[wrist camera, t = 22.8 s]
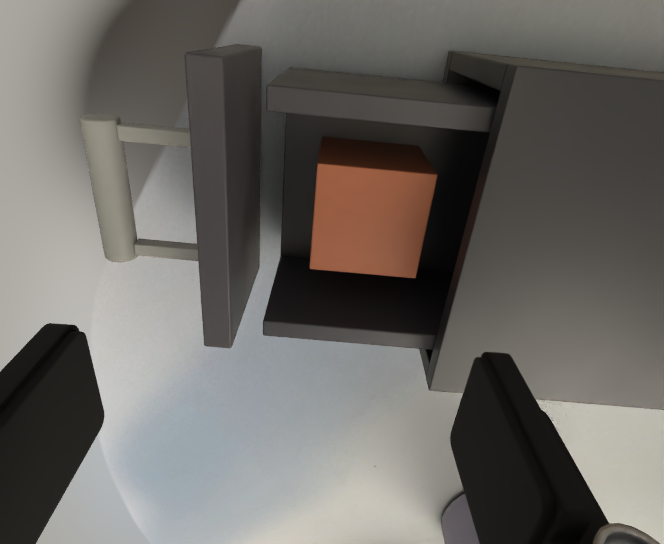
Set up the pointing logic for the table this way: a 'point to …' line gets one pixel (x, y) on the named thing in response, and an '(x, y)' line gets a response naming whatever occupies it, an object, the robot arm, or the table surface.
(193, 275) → the table surface
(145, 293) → the table surface
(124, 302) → the table surface
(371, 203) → the block
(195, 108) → the sliding drawer
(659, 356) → the dark grey drawer box
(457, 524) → the purple grey cylinder
